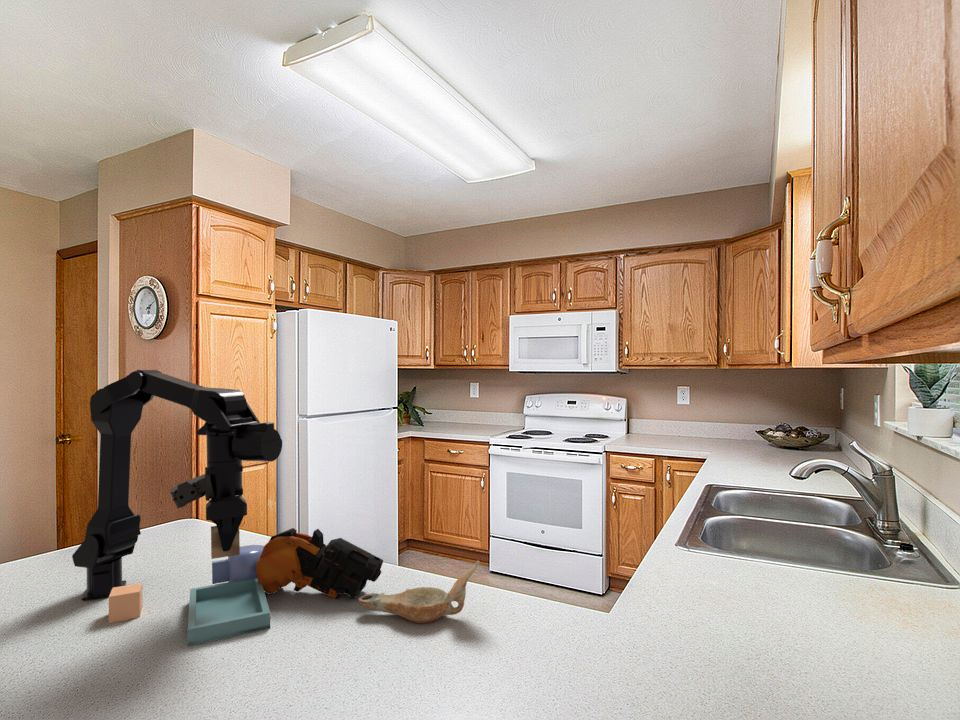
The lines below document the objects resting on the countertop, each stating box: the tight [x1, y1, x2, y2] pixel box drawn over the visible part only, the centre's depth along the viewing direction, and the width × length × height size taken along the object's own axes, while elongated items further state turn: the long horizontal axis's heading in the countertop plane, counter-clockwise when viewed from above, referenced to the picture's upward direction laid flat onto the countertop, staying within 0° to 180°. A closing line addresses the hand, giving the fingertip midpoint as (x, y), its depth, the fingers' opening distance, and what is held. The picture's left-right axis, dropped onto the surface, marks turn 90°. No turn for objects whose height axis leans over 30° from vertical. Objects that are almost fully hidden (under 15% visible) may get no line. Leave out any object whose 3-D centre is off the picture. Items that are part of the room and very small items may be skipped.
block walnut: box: [210, 525, 241, 560], centre depth 98 cm, size 4×4×4 cm
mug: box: [211, 544, 265, 585], centre depth 108 cm, size 7×10×7 cm
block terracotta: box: [108, 582, 143, 624], centre depth 96 cm, size 4×4×4 cm
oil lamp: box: [358, 560, 480, 624], centre depth 94 cm, size 9×21×10 cm, turn 81°
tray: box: [187, 578, 271, 647], centre depth 96 cm, size 18×12×2 cm, turn 27°
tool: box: [256, 527, 384, 599], centre depth 104 cm, size 8×23×15 cm, turn 79°
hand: (225, 547), depth 98 cm, fingers closed on block walnut, 4 cm apart
